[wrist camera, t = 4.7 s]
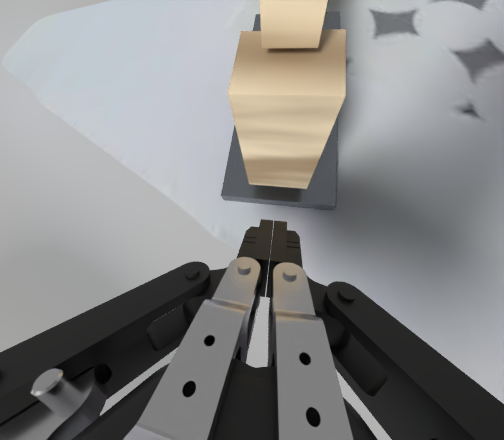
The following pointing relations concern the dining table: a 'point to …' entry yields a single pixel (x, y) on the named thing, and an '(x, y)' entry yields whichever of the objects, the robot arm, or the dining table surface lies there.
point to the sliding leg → (287, 91)
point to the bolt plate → (314, 196)
